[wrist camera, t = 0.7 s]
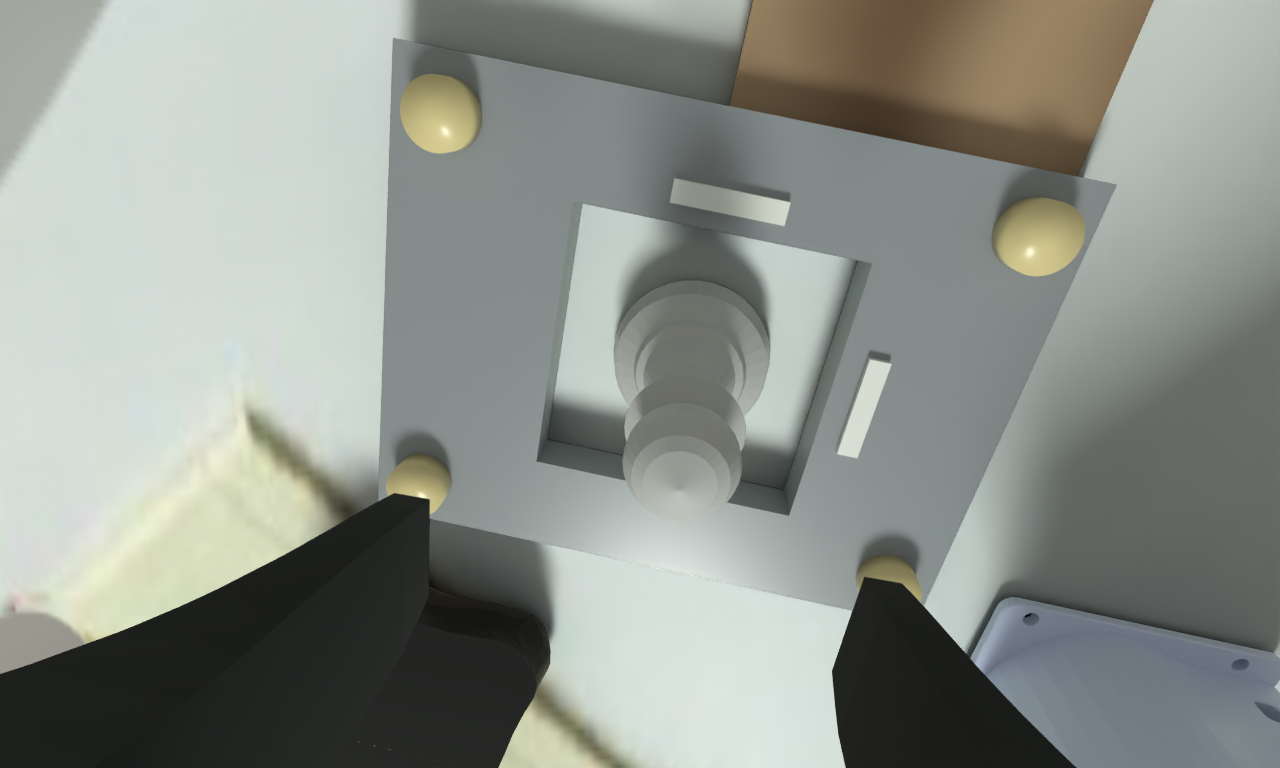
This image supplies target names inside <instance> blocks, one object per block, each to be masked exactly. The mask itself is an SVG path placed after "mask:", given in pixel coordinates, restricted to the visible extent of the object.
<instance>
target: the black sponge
mask: <svg viewBox="0 0 1280 768" xmlns="http://www.w3.org/2000/svg"><path fill="white" fill-rule="evenodd" d="M549 665H550V644H549V640H548V637H547V634H546V631H545V628H544V626H543V624H542V623H541V622H540V621H539V619H538V618H536V617H534V616H532V615H530V614H528V613H526V612H524V611H522V610H518V609H514V608H509V607H505V606H502V605H499V604H496V603H490V602H484V601H477V600H471V599H465V598H460V597H455V596H452V595H449V594H446V593H443V592H440V591H438V590H436V589H434V588H432V587H430V586H429V590H428V599H427V601H426V603H425V606H424V608H423V610H422V612H421V615H420V617H419V619H418V622H417V624H416V626H415V628H414V630H413V633H412V635H411V637H410V639H409V641H408V643H407V645H406V648H405V650H404V652H403V654H402V655H401V657H400V659H399V660H398V662H397V664H396V665H395V667H394V669H393V670H392V672H391V674H390V675H389V677H388V679H387V680H386V682H385V684H384V685H383V687H382V689H381V690H380V692H379V694H378V695H377V697H376V699H375V700H374V702H373V703H372V705H371V707H370V708H369V710H368V712H367V713H366V715H365V716H364V718H363V720H362V721H361V723H360V725H359V726H358V728H357V730H356V731H355V733H354V734H353V736H352V738H351V739H350V741H349V743H348V744H347V746H346V747H345V749H344V751H343V752H342V754H341V756H340V757H339V759H338V761H337V762H336V764H335V765H334V767H333V768H498V767H499V765H500V763H501V761H502V758H503V756H504V754H505V751H506V749H507V747H508V744H509V742H510V740H511V737H512V735H513V733H514V731H515V729H516V727H517V725H518V723H519V721H520V720H521V718H522V716H523V714H524V712H525V711H526V709H527V708H528V706H529V704H530V703H531V701H532V700H533V698H534V696H535V693H536V690H537V688H538V686H539V684H540V683H541V681H542V679H543V677H544V675H545V673H546V671H547V670H548V668H549Z"/></svg>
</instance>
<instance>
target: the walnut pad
mask: <svg viewBox="0 0 1280 768" xmlns="http://www.w3.org/2000/svg"><path fill="white" fill-rule="evenodd" d="M1153 1H1154V0H753V1H752V6H751V10H750V15H749V19H748V24H747V28H746V33H745V37H744V42H743V46H742V51H741V56H740V60H739V65H738V69H737V74H736V78H735V83H734V87H733V92H732V96H731V101H730V105H729V106H731V107H736V108H741V109H746V110H751V111H756V112H761V113H766V114H771V115H776V116H781V117H786V118H791V119H796V120H800V121H805V122H810V123H815V124H820V125H825V126H830V127H835V128H840V129H845V130H850V131H855V132H860V133H865V134H869V135H874V136H879V137H884V138H889V139H894V140H899V141H904V142H909V143H914V144H919V145H924V146H929V147H934V148H938V149H943V150H948V151H953V152H958V153H963V154H968V155H973V156H978V157H983V158H988V159H993V160H998V161H1003V162H1007V163H1012V164H1017V165H1022V166H1027V167H1032V168H1037V169H1042V170H1047V171H1052V172H1057V173H1062V174H1067V175H1072V176H1078V174H1079V172H1080V169H1081V167H1082V165H1083V162H1084V160H1085V158H1086V155H1087V153H1088V151H1089V149H1090V146H1091V144H1092V142H1093V139H1094V137H1095V135H1096V132H1097V130H1098V128H1099V125H1100V123H1101V121H1102V119H1103V116H1104V114H1105V112H1106V109H1107V107H1108V105H1109V102H1110V100H1111V98H1112V95H1113V93H1114V91H1115V89H1116V86H1117V84H1118V82H1119V79H1120V77H1121V75H1122V72H1123V70H1124V68H1125V65H1126V63H1127V61H1128V59H1129V56H1130V54H1131V52H1132V49H1133V47H1134V45H1135V42H1136V40H1137V38H1138V35H1139V33H1140V31H1141V29H1142V26H1143V24H1144V22H1145V19H1146V17H1147V15H1148V12H1149V10H1150V8H1151V5H1152V3H1153Z"/></svg>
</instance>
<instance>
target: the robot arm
mask: <svg viewBox="0 0 1280 768" xmlns="http://www.w3.org/2000/svg"><path fill="white" fill-rule="evenodd" d="M429 525H430V499H426V498H420V497H415V496H409V495H404V494H398V493H393V494H391V495H389V496H387V497H386V498H384V499H382V500H380V501H378V502H376V503H375V504H373V505H371V506H369V507H368V508H366V509H364V510H362V511H361V512H359V513H357V514H356V515H354V516H352V517H350V518H349V519H347V520H345V521H344V522H342V523H340V524H338V525H337V526H335V527H333V528H331V529H330V530H328V531H326V532H324V533H323V534H321V535H319V536H317V537H315V538H314V539H312V540H310V541H308V542H307V543H305V544H303V545H301V546H300V547H298V548H296V549H294V550H292V551H291V552H289V553H287V554H285V555H283V556H281V557H280V558H278V559H276V560H274V561H272V562H270V563H268V564H266V565H264V566H262V567H260V568H258V569H256V570H254V571H252V572H250V573H248V574H246V575H244V576H242V577H240V578H239V579H237V580H235V581H233V582H231V583H229V584H227V585H225V586H223V587H221V588H219V589H217V590H215V591H213V592H211V593H208V594H206V595H204V596H202V597H200V598H198V599H196V600H193V601H191V602H189V603H187V604H184V605H182V606H180V607H178V608H175V609H173V610H171V611H168V612H166V613H164V614H161V615H159V616H157V617H154V618H152V619H149V620H147V621H145V622H142V623H140V624H138V625H135V626H133V627H130V628H128V629H125V630H123V631H120V632H118V633H115V634H112V635H110V636H107V637H104V638H101V639H99V640H96V641H93V642H90V643H88V644H85V645H82V646H79V647H77V648H74V649H71V650H68V651H66V652H63V653H60V654H57V655H55V656H52V657H49V658H46V659H44V660H41V661H38V662H35V663H33V664H30V665H27V666H24V667H21V668H18V669H15V670H11V671H9V672H6V673H2V674H0V768H333V767H334V765H335V764H336V762H337V761H338V759H339V757H340V756H341V754H342V752H343V751H344V749H345V747H346V746H347V744H348V743H349V741H350V739H351V738H352V736H353V734H354V733H355V731H356V730H357V728H358V726H359V725H360V723H361V721H362V720H363V718H364V716H365V715H366V713H367V712H368V710H369V708H370V707H371V705H372V703H373V702H374V700H375V699H376V697H377V695H378V694H379V692H380V690H381V689H382V687H383V685H384V684H385V682H386V680H387V679H388V677H389V675H390V674H391V672H392V670H393V669H394V667H395V665H396V664H397V662H398V660H399V659H400V657H401V655H402V654H403V652H404V650H405V648H406V645H407V643H408V641H409V639H410V637H411V635H412V633H413V630H414V628H415V626H416V624H417V622H418V619H419V617H420V615H421V612H422V610H423V608H424V606H425V603H426V601H427V599H428V590H429ZM1029 613H1033V614H1032V615H1031V616H1029V617H1024V616H1025V615H1027V614H1029ZM832 676H833V687H834V698H835V708H836V717H837V726H838V734H839V739H840V744H841V748H842V753H843V757H844V762H845V766H846V768H1280V692H1279V691H1278V690H1277V689H1276V688H1275V685H1276V684H1277V683H1278V681H1279V680H1280V658H1279V657H1278V656H1277V655H1276V654H1274V653H1271V652H1267V651H1263V650H1258V649H1253V648H1249V647H1244V646H1240V645H1235V644H1230V643H1226V642H1221V641H1216V640H1212V639H1207V638H1203V637H1198V636H1193V635H1189V634H1184V633H1180V632H1175V631H1170V630H1166V629H1161V628H1156V627H1152V626H1147V625H1143V624H1138V623H1133V622H1129V621H1124V620H1119V619H1115V618H1110V617H1106V616H1101V615H1096V614H1092V613H1087V612H1082V611H1078V610H1073V609H1069V608H1064V607H1059V606H1055V605H1050V604H1045V603H1041V602H1036V601H1032V600H1027V599H1022V598H1017V597H1010V598H1006V599H1004V600H1003V601H1001V602H1000V603H999V604H998V605H997V607H996V609H995V611H994V613H993V615H992V617H991V619H990V621H989V623H988V625H987V627H986V628H985V630H984V632H983V634H982V636H981V638H980V640H979V642H978V644H977V646H976V648H975V650H974V652H973V654H972V656H971V658H969V657H968V656H967V655H966V653H965V652H964V651H963V650H962V649H961V648H960V647H959V646H958V644H957V643H956V642H955V641H954V640H953V639H952V638H951V637H950V635H949V634H948V633H947V632H946V631H945V630H944V629H943V628H942V626H941V625H940V624H939V623H938V622H937V621H936V620H935V618H934V617H933V616H932V615H931V614H930V613H929V612H928V611H927V609H926V608H925V607H924V606H923V605H922V604H921V603H920V602H919V601H918V599H917V598H916V597H915V596H914V595H913V594H912V593H911V592H910V591H909V590H908V589H907V588H906V587H905V586H904V585H903V584H902V583H898V582H892V581H886V580H881V579H875V578H869V577H864V579H863V581H862V584H861V587H860V590H859V593H858V596H857V599H856V602H855V605H854V608H853V611H852V614H851V617H850V620H849V623H848V626H847V629H846V631H845V634H844V637H843V640H842V643H841V646H840V649H839V652H838V655H837V658H836V661H835V664H834V667H833V670H832Z"/></svg>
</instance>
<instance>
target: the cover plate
mask: <svg viewBox="0 0 1280 768" xmlns="http://www.w3.org/2000/svg"><path fill="white" fill-rule="evenodd" d="M1115 187H1116V184H1111V183H1106V182H1101V181H1096V180H1091V179H1086V178H1081V177H1077V176H1072V175H1067V174H1062V173H1057V172H1052V171H1047V170H1042V169H1037V168H1032V167H1027V166H1022V165H1017V164H1012V163H1007V162H1003V161H998V160H993V159H988V158H983V157H978V156H973V155H968V154H963V153H958V152H953V151H948V150H943V149H938V148H934V147H929V146H924V145H919V144H914V143H909V142H904V141H899V140H894V139H889V138H884V137H879V136H874V135H869V134H865V133H860V132H855V131H850V130H845V129H840V128H835V127H830V126H825V125H820V124H815V123H810V122H805V121H800V120H796V119H791V118H786V117H781V116H776V115H771V114H766V113H761V112H756V111H751V110H746V109H741V108H736V107H731V106H726V105H722V104H717V103H712V102H707V101H702V100H697V99H692V98H687V97H682V96H677V95H672V94H667V93H662V92H657V91H653V90H648V89H643V88H638V87H633V86H628V85H623V84H618V83H613V82H608V81H603V80H598V79H593V78H588V77H584V76H579V75H574V74H569V73H564V72H559V71H554V70H549V69H544V68H539V67H534V66H529V65H524V64H519V63H515V62H510V61H505V60H500V59H495V58H490V57H485V56H480V55H475V54H470V53H465V52H460V51H455V50H450V49H445V48H441V47H436V46H431V45H426V44H421V43H416V42H411V41H406V40H401V39H396V38H393V52H392V83H391V114H390V145H389V176H388V207H387V238H386V269H385V300H384V332H383V363H382V394H381V425H380V456H379V487H378V501H380V500H382V499H384V498H386V497H387V496H389V495H391V494H393V493H398V494H404V495H409V496H415V497H420V498H426V499H430V519H433V520H438V521H443V522H447V523H452V524H456V525H461V526H466V527H470V528H475V529H479V530H484V531H489V532H493V533H498V534H502V535H507V536H512V537H516V538H521V539H525V540H530V541H534V542H539V543H544V544H548V545H553V546H557V547H562V548H567V549H571V550H576V551H580V552H585V553H590V554H594V555H599V556H603V557H608V558H613V559H617V560H622V561H626V562H631V563H635V564H640V565H645V566H649V567H654V568H658V569H663V570H668V571H672V572H677V573H681V574H686V575H691V576H695V577H700V578H704V579H709V580H714V581H718V582H723V583H727V584H732V585H736V586H741V587H746V588H750V589H755V590H759V591H764V592H769V593H773V594H778V595H782V596H787V597H792V598H796V599H801V600H805V601H810V602H815V603H819V604H824V605H828V606H833V607H838V608H842V609H847V610H851V611H853V608H854V605H855V602H856V599H857V596H858V593H859V590H860V587H861V584H862V581H863V579H864V577H869V578H875V579H881V580H886V581H892V582H898V583H902V584H903V585H904V586H905V587H906V588H907V589H908V590H909V591H910V592H911V593H912V594H913V595H914V596H915V597H916V598H917V599H918V601H919V602H920V603H921V604H922V605H923V606H924V604H925V602H926V600H927V598H928V595H929V593H930V591H931V589H932V587H933V584H934V582H935V580H936V578H937V576H938V574H939V571H940V569H941V567H942V565H943V563H944V560H945V558H946V556H947V554H948V552H949V550H950V547H951V545H952V543H953V541H954V539H955V536H956V534H957V532H958V530H959V528H960V526H961V523H962V521H963V519H964V517H965V515H966V512H967V510H968V508H969V506H970V504H971V502H972V499H973V497H974V495H975V493H976V491H977V488H978V486H979V484H980V482H981V480H982V478H983V475H984V473H985V471H986V469H987V467H988V464H989V462H990V460H991V458H992V456H993V454H994V451H995V449H996V447H997V445H998V443H999V440H1000V438H1001V436H1002V434H1003V432H1004V430H1005V427H1006V425H1007V423H1008V421H1009V419H1010V417H1011V414H1012V412H1013V410H1014V408H1015V406H1016V403H1017V401H1018V399H1019V397H1020V395H1021V393H1022V390H1023V388H1024V386H1025V384H1026V382H1027V379H1028V377H1029V375H1030V373H1031V371H1032V369H1033V366H1034V364H1035V362H1036V360H1037V358H1038V355H1039V353H1040V351H1041V349H1042V347H1043V345H1044V342H1045V340H1046V338H1047V336H1048V334H1049V331H1050V329H1051V327H1052V325H1053V323H1054V321H1055V318H1056V316H1057V314H1058V312H1059V310H1060V307H1061V305H1062V303H1063V301H1064V299H1065V297H1066V294H1067V292H1068V290H1069V288H1070V286H1071V283H1072V281H1073V279H1074V277H1075V275H1076V273H1077V270H1078V268H1079V266H1080V264H1081V262H1082V259H1083V257H1084V255H1085V253H1086V251H1087V249H1088V246H1089V244H1090V242H1091V240H1092V238H1093V235H1094V233H1095V231H1096V229H1097V227H1098V225H1099V222H1100V220H1101V218H1102V216H1103V214H1104V211H1105V209H1106V207H1107V205H1108V203H1109V201H1110V198H1111V196H1112V194H1113V192H1114V190H1115ZM582 203H583V204H588V205H592V206H597V207H602V208H607V209H612V210H617V211H621V212H626V213H631V214H636V215H641V216H646V217H650V218H655V219H660V220H665V221H670V222H675V223H679V224H684V225H689V226H694V227H699V228H704V229H708V230H713V231H718V232H723V233H728V234H733V235H737V236H742V237H747V238H752V239H757V240H762V241H766V242H771V243H776V244H781V245H786V246H791V247H795V248H800V249H805V250H810V251H815V252H820V253H824V254H829V255H834V256H839V257H844V258H849V259H853V260H858V262H857V265H856V268H855V271H854V274H853V277H852V280H851V284H850V287H849V290H848V293H847V296H846V299H845V302H844V305H843V309H842V312H841V315H840V318H839V321H838V324H837V327H836V330H835V333H834V337H833V340H832V343H831V346H830V349H829V352H828V355H827V358H826V361H825V365H824V368H823V371H822V374H821V377H820V380H819V383H818V386H817V389H816V393H815V396H814V399H813V402H812V405H811V408H810V411H809V414H808V417H807V421H806V424H805V427H804V430H803V433H802V436H801V439H800V442H799V445H798V449H797V452H796V455H795V458H794V461H793V464H792V467H791V470H790V473H789V477H788V480H787V483H786V486H785V489H784V490H781V489H776V488H772V487H767V486H762V485H758V484H753V483H748V482H744V481H739V484H738V486H737V488H736V490H735V492H734V494H733V495H732V497H731V498H730V499H729V500H728V502H727V503H726V504H725V505H723V506H722V507H721V508H720V509H719V510H717V511H716V512H714V513H713V514H711V515H709V516H707V517H705V518H702V519H699V520H696V521H690V522H675V521H670V520H666V519H663V518H660V517H658V516H656V515H654V514H653V513H651V512H650V511H648V510H647V509H646V508H645V507H643V506H642V505H641V504H640V503H639V502H638V501H637V499H636V498H635V497H634V496H633V494H632V493H631V491H630V489H629V487H628V485H627V483H626V480H625V476H624V473H623V463H622V460H623V456H622V455H618V454H613V453H608V452H604V451H599V450H594V449H590V448H585V447H580V446H576V445H571V444H566V443H562V442H557V441H552V440H548V432H549V425H550V418H551V412H552V405H553V398H554V391H555V385H556V378H557V371H558V364H559V357H560V351H561V344H562V337H563V330H564V323H565V317H566V310H567V303H568V296H569V289H570V283H571V276H572V269H573V262H574V256H575V249H576V242H577V235H578V228H579V222H580V215H581V208H582Z"/></svg>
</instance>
